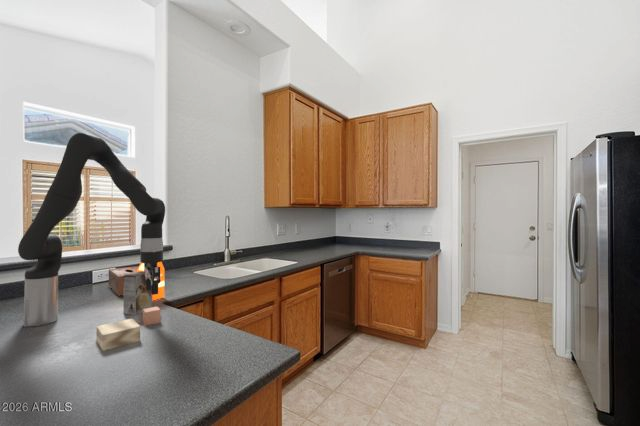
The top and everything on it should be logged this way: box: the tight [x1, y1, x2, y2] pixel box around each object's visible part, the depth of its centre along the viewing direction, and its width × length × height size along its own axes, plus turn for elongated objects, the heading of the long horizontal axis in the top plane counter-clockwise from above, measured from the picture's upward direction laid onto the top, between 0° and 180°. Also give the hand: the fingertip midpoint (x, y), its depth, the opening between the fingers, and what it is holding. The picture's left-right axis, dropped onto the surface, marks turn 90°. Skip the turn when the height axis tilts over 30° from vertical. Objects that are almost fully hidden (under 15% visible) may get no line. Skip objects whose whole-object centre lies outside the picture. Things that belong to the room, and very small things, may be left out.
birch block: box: [95, 318, 141, 352], centre depth 95 cm, size 10×10×5 cm
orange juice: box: [137, 261, 166, 301], centre depth 140 cm, size 8×9×20 cm
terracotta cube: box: [142, 306, 161, 327], centre depth 111 cm, size 5×5×5 cm
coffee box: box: [123, 271, 154, 315], centre depth 124 cm, size 9×6×16 cm
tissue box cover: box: [108, 265, 140, 297], centre depth 160 cm, size 26×14×10 cm, turn 45°
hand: (151, 292), depth 111 cm, fingers open, 8 cm apart
